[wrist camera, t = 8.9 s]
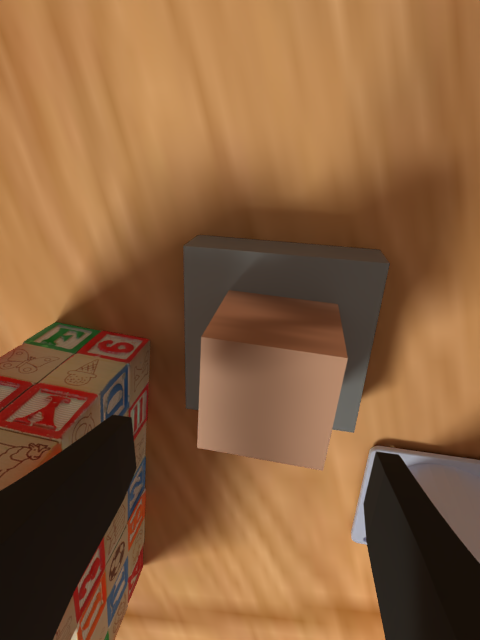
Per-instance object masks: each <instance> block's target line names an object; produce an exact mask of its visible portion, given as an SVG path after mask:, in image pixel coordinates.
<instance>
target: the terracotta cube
mask: <svg viewBox="0 0 480 640" xmlns="http://www.w3.org/2000/svg"><path fill="white" fill-rule="evenodd" d="M347 360H348V356H347V351H346V345H345V340H344V334H343V329H342V323H341V318H340V313H339V307H338V304H333V303H326V302H318V301H310V300H302V299H295V298H287V297H279V296H271V295H263V294H256V293H248V292H240V291H232V290H229V291H228V293H227V294H226V296H225V298H224V299H223V301H222V303H221V304H220V306H219V308H218V309H217V311H216V313H215V314H214V316H213V318H212V320H211V321H210V323H209V325H208V326H207V328H206V330H205V331H204V333H203V335H202V336H201V358H200V385H199V412H198V439H197V448H201V449H207V450H212V451H218V452H223V453H229V454H234V455H240V456H245V457H251V458H256V459H262V460H267V461H273V462H278V463H283V464H289V465H294V466H300V467H305V468H311V469H316V470H322V471H323V469H324V464H325V460H326V455H327V450H328V446H329V441H330V437H331V432H332V428H333V423H334V419H335V414H336V410H337V405H338V401H339V396H340V391H341V387H342V382H343V378H344V373H345V369H346V364H347Z"/></svg>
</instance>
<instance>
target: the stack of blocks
mask: <svg viewBox="0 0 480 640" xmlns="http://www.w3.org/2000/svg"><path fill="white" fill-rule="evenodd" d="M149 368H150V340H149V339H145V338H140V337H135V336H129V335H124V334H118V333H113V332H108V331H99V330H93V329H88V328H83V327H78V326H73V325H68V324H63V323H58V322H55V323H53V324H52V325H50V326H48V327H47V328H45V329H43V330H42V331H40V332H38V333H37V334H35V335H34V336H32V337H30V338H29V339H27V340H26V341H24V342H23V344H22V345H20V346H18V347H16V348H15V349H13V350H11V351H10V352H8V353H7V354H5V355H3V356H2V357H0V491H1V490H2V489H4V488H6V487H7V486H9V485H11V484H12V483H14V482H16V481H17V480H19V479H20V478H22V477H23V476H25V475H27V474H28V473H30V472H31V471H33V470H34V469H36V468H37V467H39V466H40V465H42V464H43V463H45V462H47V461H48V460H50V459H51V458H53V457H54V456H56V455H57V454H58V453H60V452H61V451H63V450H64V449H65V448H67V447H68V446H70V445H71V444H73V443H74V442H75V441H77V440H78V439H80V438H81V437H82V436H84V435H85V434H86V433H88V432H89V431H91V430H92V429H93V428H95V427H96V426H97V425H99V424H100V423H102V422H103V421H104V420H106V419H107V418H109V417H110V416H112V415H119V416H126V417H132V426H133V436H134V446H135V456H136V466H137V468H136V471H135V474H134V476H133V479H132V481H131V484H130V486H129V489H128V491H127V494H126V496H125V498H124V501H123V502H122V504H121V506H120V508H119V510H118V512H117V514H116V516H115V517H114V519H113V521H112V523H111V525H110V527H109V528H108V530H107V532H106V534H105V536H104V537H103V539H102V541H101V543H100V545H99V546H98V548H97V550H96V552H95V554H94V555H93V557H92V559H91V561H90V563H89V565H88V566H87V568H86V570H85V572H84V574H83V575H82V577H81V579H80V581H79V583H78V585H77V587H76V589H75V591H74V593H73V596H72V598H71V600H70V602H69V605H68V607H67V609H66V611H65V614H64V616H63V618H62V620H61V623H60V625H59V627H58V629H57V632H56V634H55V636H54V639H53V640H115V637H116V635H117V632H118V630H119V627H120V625H121V622H122V620H123V617H124V615H125V612H126V610H127V607H128V603H129V600H130V598H131V596H132V593H133V591H134V588H135V586H136V584H137V581H138V578H139V576H140V573H141V570H142V568H143V544H144V534H145V518H144V516H145V503H146V488H145V466H146V456H145V452H146V421H147V416H148V385H149V382H148V381H149Z"/></svg>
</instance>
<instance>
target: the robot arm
mask: <svg viewBox="0 0 480 640" xmlns="http://www.w3.org/2000/svg"><path fill="white" fill-rule="evenodd" d="M136 468H137V466H136V456H135V446H134V436H133V426H132V417H126V416H119V415H112V416H110V417H109V418H107V419H106V420H104V421H103V422H102V423H100V424H99V425H97V426H96V427H95V428H93V429H92V430H91V431H89V432H88V433H86V434H85V435H84V436H82V437H81V438H80V439H78V440H77V441H75V442H74V443H73V444H71V445H70V446H68V447H67V448H65V449H64V450H63V451H61V452H60V453H58V454H57V455H56V456H54V457H53V458H51V459H50V460H48V461H47V462H45V463H43V464H42V465H40V466H39V467H37V468H36V469H34V470H33V471H31V472H30V473H28V474H27V475H25V476H23V477H22V478H20V479H19V480H17V481H16V482H14V483H12V484H11V485H9V486H7V487H6V488H4V489H2V490H1V491H0V640H53V639H54V636H55V634H56V632H57V629H58V627H59V625H60V623H61V620H62V618H63V616H64V614H65V611H66V609H67V607H68V605H69V602H70V600H71V598H72V596H73V593H74V591H75V589H76V587H77V585H78V583H79V581H80V579H81V577H82V575H83V574H84V572H85V570H86V568H87V566H88V565H89V563H90V561H91V559H92V557H93V555H94V554H95V552H96V550H97V548H98V546H99V545H100V543H101V541H102V539H103V537H104V536H105V534H106V532H107V530H108V528H109V527H110V525H111V523H112V521H113V519H114V517H115V516H116V514H117V512H118V510H119V508H120V506H121V504H122V502H123V501H124V498H125V496H126V494H127V491H128V489H129V486H130V484H131V481H132V479H133V476H134V474H135V471H136ZM351 537H352V540H353V541H355V542H357V543H361V544H367V547H368V552H369V557H370V562H371V568H372V573H373V578H374V583H375V588H376V593H377V598H378V603H379V608H380V613H381V618H382V623H383V628H384V633H385V639H386V640H480V460H476V459H469V458H462V457H455V456H448V455H441V454H434V453H427V452H420V451H413V450H406V449H398V448H391V447H384V446H374V447H372V448H371V449H370V451H369V455H368V460H367V464H366V468H365V473H364V477H363V482H362V486H361V491H360V495H359V499H358V504H357V508H356V513H355V517H354V522H353V526H352V530H351Z"/></svg>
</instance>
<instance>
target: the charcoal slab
mask: <svg viewBox="0 0 480 640" xmlns="http://www.w3.org/2000/svg"><path fill="white" fill-rule="evenodd" d="M183 248H184V315H185V382H186V408H187V409H194V410H199V385H200V358H201V336H202V335H203V333H204V331H205V330H206V328H207V326H208V325H209V323H210V321H211V320H212V318H213V316H214V314H215V313H216V311H217V309H218V308H219V306H220V304H221V303H222V301H223V299H224V298H225V296H226V294H227V293H228V291H229V290H232V291H240V292H248V293H256V294H263V295H271V296H279V297H287V298H295V299H302V300H310V301H318V302H326V303H333V304H338V307H339V313H340V318H341V323H342V329H343V334H344V340H345V345H346V351H347V356H348V360H347V364H346V369H345V373H344V378H343V382H342V387H341V391H340V396H339V401H338V405H337V410H336V414H335V419H334V423H333V428H332V429H333V430H340V431H347V432H354V430H355V425H356V420H357V416H358V411H359V406H360V402H361V397H362V392H363V387H364V383H365V378H366V373H367V368H368V364H369V359H370V354H371V350H372V345H373V340H374V335H375V331H376V326H377V321H378V316H379V312H380V307H381V302H382V298H383V293H384V288H385V283H386V279H387V274H388V269H389V264H390V263H389V262H388V260H387V259H386V258H385V256H384V255H383V253H382V252H381V251H380V250H377V249H365V248H353V247H340V246H328V245H316V244H304V243H292V242H279V241H267V240H255V239H243V238H230V237H218V236H206V235H197V236H196V237H195V238H193V239H192V240H191V241H189V242H188V243H187V244H185V245H184V246H183Z"/></svg>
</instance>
